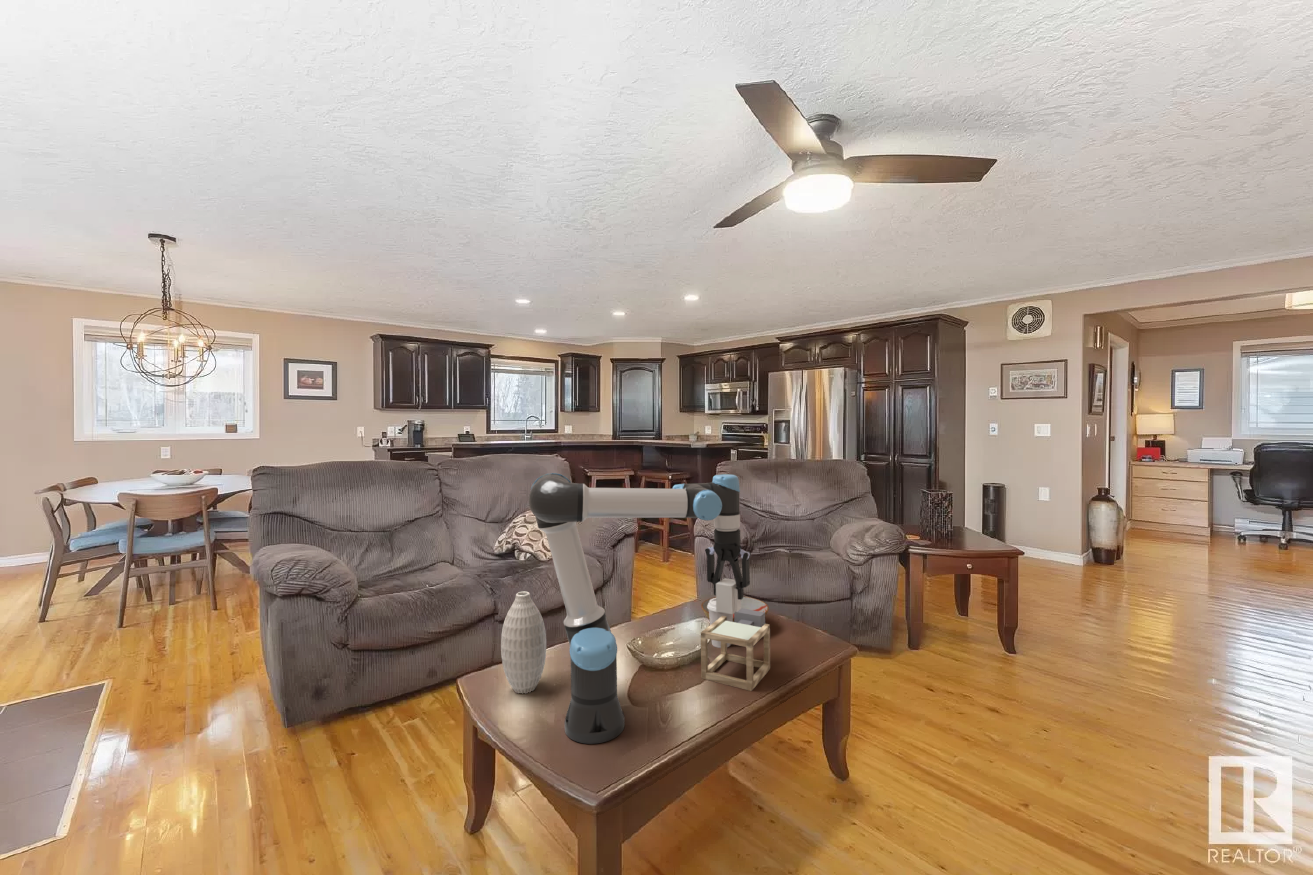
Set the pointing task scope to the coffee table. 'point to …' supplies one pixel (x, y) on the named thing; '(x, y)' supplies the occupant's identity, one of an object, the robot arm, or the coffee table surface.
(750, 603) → the bowl
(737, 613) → the trapdoor
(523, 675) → the vase
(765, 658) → the maple stand
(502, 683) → the coffee table surface
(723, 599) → the light gray block
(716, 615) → the coffee cup
